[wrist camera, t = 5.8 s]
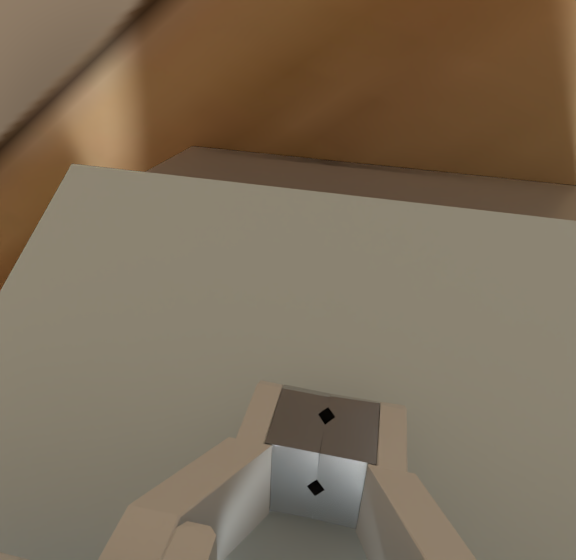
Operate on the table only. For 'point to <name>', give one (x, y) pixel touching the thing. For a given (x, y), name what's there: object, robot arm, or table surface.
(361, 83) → the table surface
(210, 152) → the storage box
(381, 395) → the box lid
